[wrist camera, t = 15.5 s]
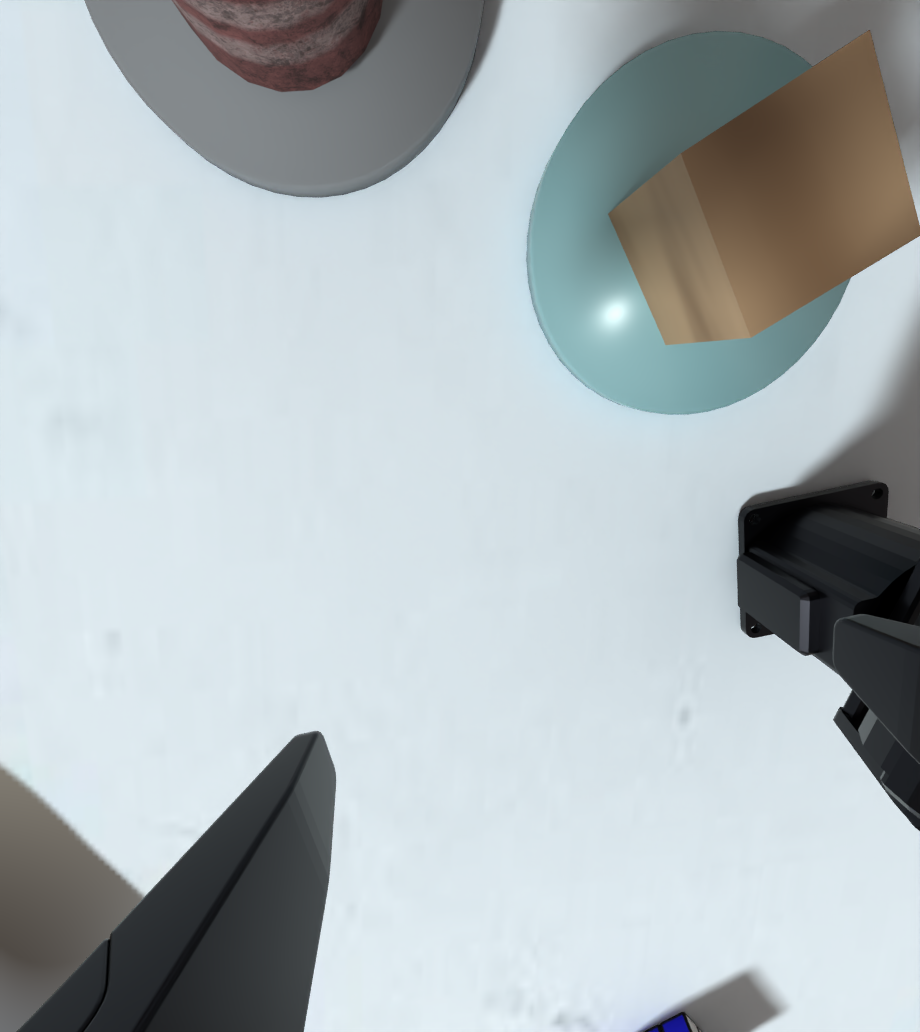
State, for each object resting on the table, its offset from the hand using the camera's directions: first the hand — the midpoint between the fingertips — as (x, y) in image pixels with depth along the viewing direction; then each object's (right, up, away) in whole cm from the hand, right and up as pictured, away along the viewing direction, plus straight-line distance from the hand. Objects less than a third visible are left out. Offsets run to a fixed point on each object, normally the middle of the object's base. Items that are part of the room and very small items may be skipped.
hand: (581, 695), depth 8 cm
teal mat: (+6, +13, +10) cm, 18 cm away
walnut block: (+6, +13, +9) cm, 17 cm away
